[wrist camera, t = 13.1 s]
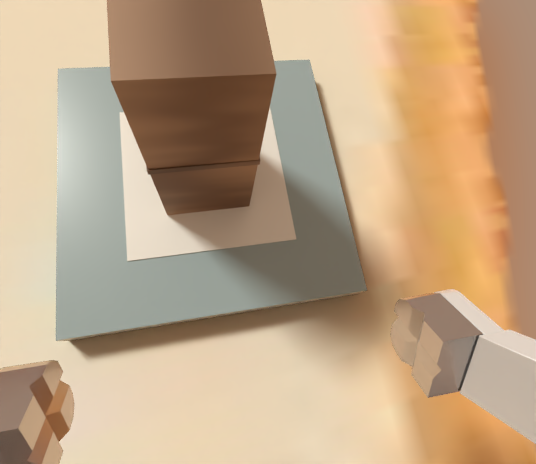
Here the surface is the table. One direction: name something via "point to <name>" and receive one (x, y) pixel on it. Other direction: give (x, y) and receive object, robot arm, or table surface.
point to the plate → (193, 219)
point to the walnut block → (194, 95)
